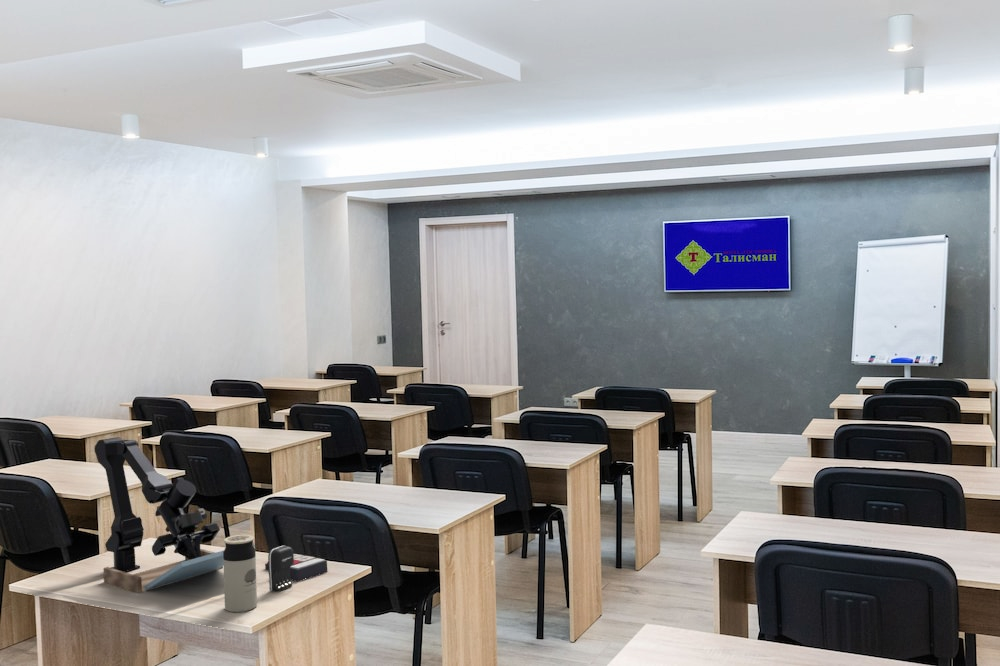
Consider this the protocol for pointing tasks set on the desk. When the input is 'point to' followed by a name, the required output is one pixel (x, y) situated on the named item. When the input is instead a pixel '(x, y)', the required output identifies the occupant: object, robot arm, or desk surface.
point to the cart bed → (140, 576)
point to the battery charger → (280, 568)
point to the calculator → (305, 567)
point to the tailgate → (189, 569)
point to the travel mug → (240, 573)
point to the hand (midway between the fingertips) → (200, 563)
